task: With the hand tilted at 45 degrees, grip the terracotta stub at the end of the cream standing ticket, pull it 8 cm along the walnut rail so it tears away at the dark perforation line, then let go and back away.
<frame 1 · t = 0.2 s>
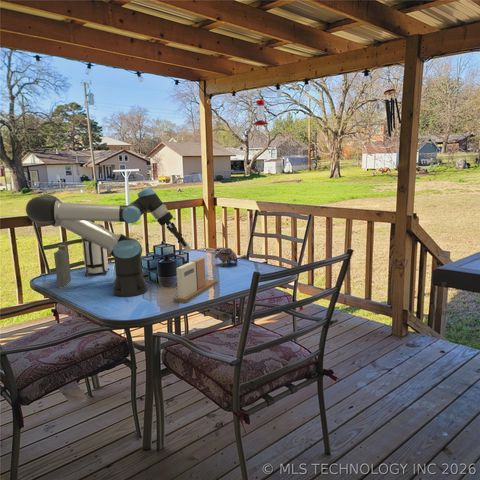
hand: (188, 249, 197), 16 cm above the table, tool tilted 35°, fingers open, 13 cm apart
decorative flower: (226, 265, 228), on the table
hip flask: (65, 284, 200), on the table
ticket stub: (198, 273, 179), point 8 cm above the table, slide at 0.0 cm
coffee press: (97, 274, 217), on the table
ticket holder: (197, 292, 179), on the table
disposable coffee cup: (161, 267, 229), on the table
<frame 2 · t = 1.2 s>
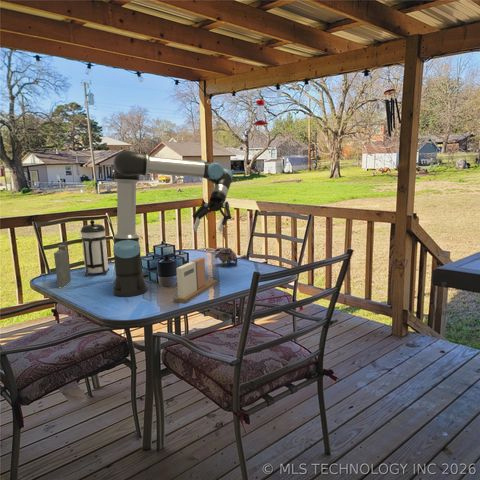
hand: (207, 230, 186), 27 cm above the table, tool tilted 45°, fingers open, 13 cm apart
nothing on the table moved.
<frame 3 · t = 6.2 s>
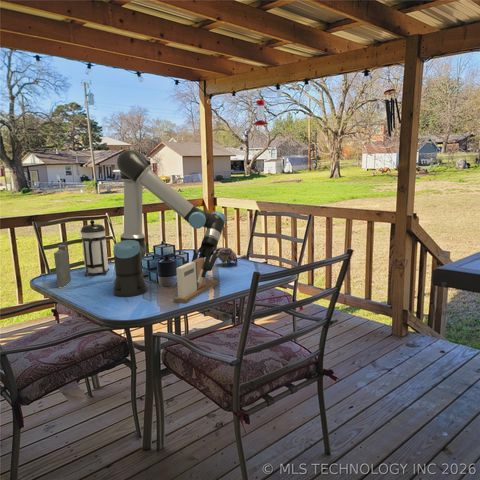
hand: (195, 282, 177), 5 cm above the table, tool tilted 45°, fingers closed on ticket stub, 3 cm apart
ticket stub: (198, 273, 179), point 8 cm above the table, slide at 0.0 cm, touching gripper
everything else where it was.
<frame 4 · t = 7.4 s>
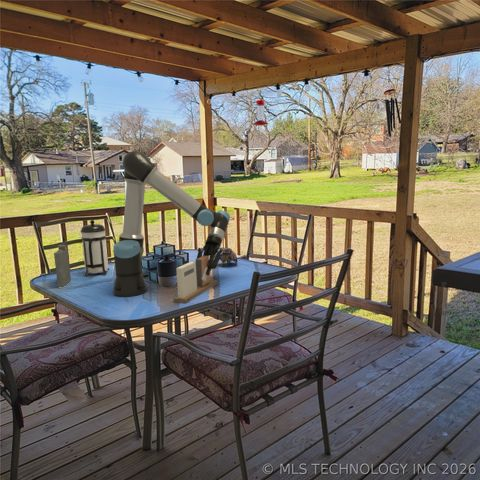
hand: (200, 280, 181), 5 cm above the table, tool tilted 45°, fingers closed on ticket stub, 3 cm apart
ticket stub: (203, 271, 183), point 8 cm above the table, slide at 4.2 cm, touching gripper
everything else where it was.
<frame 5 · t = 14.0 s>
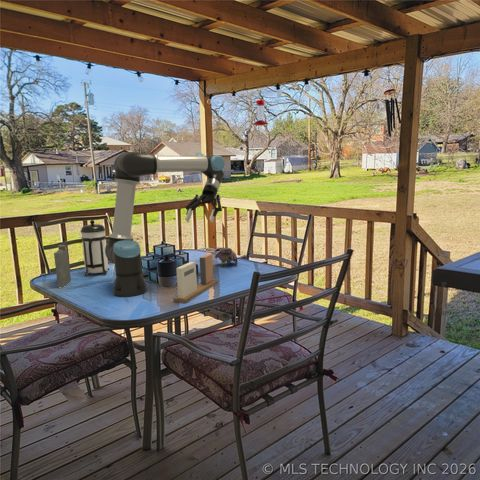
hand: (198, 220, 197), 30 cm above the table, tool tilted 45°, fingers open, 13 cm apart
ticket stub: (206, 269, 187), point 8 cm above the table, slide at 8.0 cm
everything else where it was.
at the end: ticket stub slide at 8.0 cm; the gripper is holding nothing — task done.
